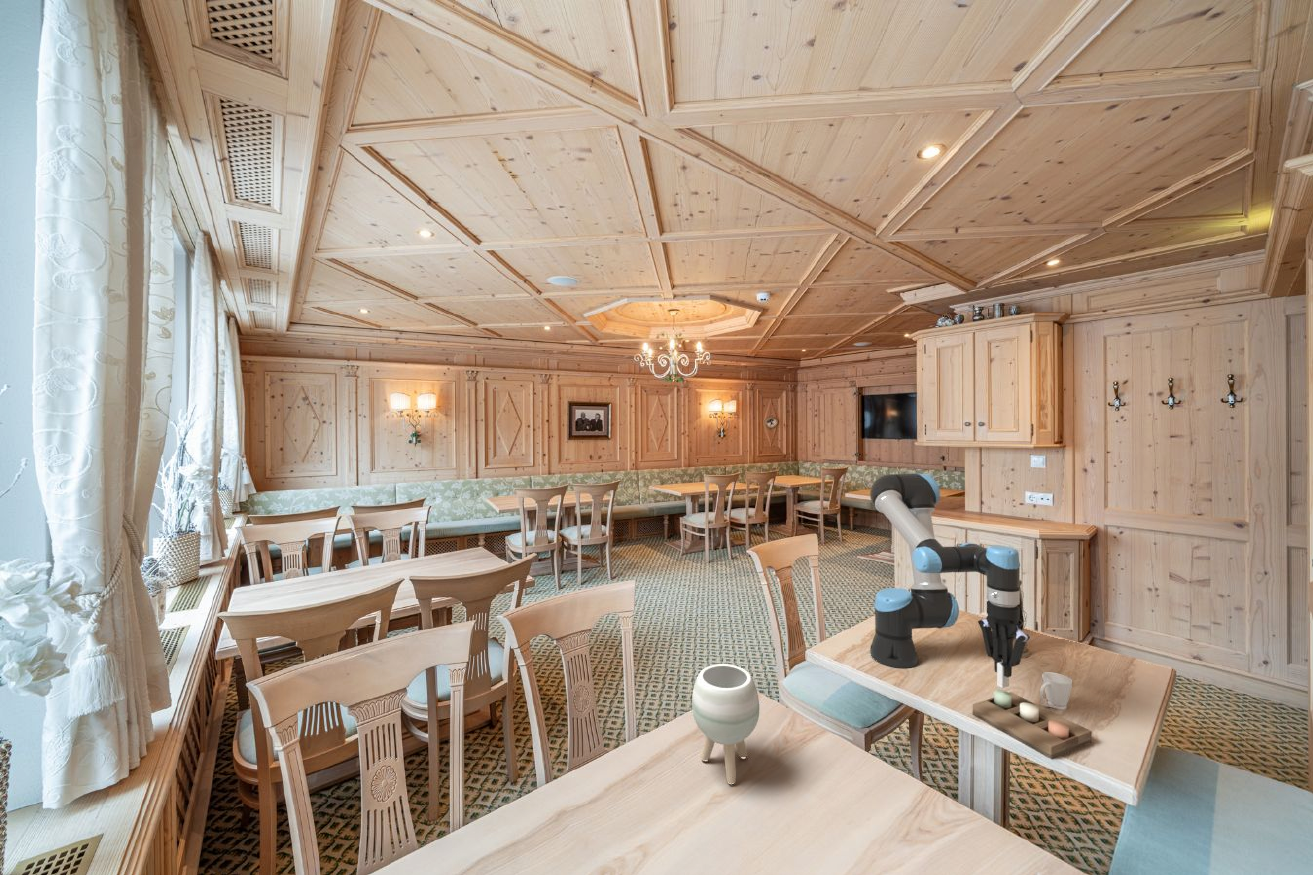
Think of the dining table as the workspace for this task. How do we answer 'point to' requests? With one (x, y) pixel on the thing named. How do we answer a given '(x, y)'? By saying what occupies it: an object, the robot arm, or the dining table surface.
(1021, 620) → the lantern
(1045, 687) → the cup
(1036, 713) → the white egg
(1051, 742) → the wooden egg tray
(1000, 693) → the pale green egg
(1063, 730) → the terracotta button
